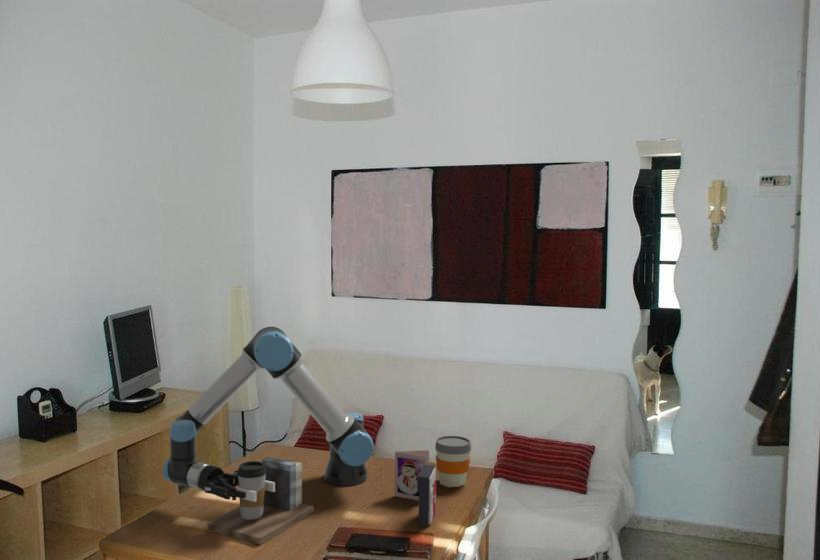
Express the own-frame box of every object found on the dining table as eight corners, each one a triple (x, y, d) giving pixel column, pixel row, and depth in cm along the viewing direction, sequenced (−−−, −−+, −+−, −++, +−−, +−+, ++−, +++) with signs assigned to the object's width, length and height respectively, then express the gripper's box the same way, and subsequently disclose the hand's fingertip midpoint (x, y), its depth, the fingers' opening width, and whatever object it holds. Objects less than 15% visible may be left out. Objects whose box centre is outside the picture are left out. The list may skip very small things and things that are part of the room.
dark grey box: (430, 527, 198) (431, 477, 197) (416, 525, 199) (417, 476, 198) (436, 512, 209) (437, 465, 208) (423, 510, 210) (423, 464, 209)
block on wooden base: (206, 529, 194) (206, 475, 193) (263, 499, 216) (263, 451, 215) (260, 545, 185) (260, 489, 184) (313, 512, 207) (314, 462, 206)
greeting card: (393, 496, 221) (393, 452, 220) (403, 489, 227) (403, 446, 226) (424, 503, 216) (425, 457, 215) (433, 495, 222) (434, 451, 221)
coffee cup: (239, 509, 200) (239, 460, 199) (268, 509, 201) (268, 460, 200) (235, 521, 192) (235, 470, 191) (264, 521, 193) (264, 470, 191)
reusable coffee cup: (433, 488, 228) (433, 445, 227) (435, 475, 241) (436, 434, 240) (469, 490, 227) (470, 447, 226) (470, 477, 239) (471, 436, 238)
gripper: (229, 478, 213) (287, 492, 203) (180, 501, 195) (241, 517, 185) (229, 455, 213) (287, 468, 202) (180, 475, 195) (241, 491, 184)
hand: (265, 491), depth 194 cm, fingers closed on coffee cup, 7 cm apart
